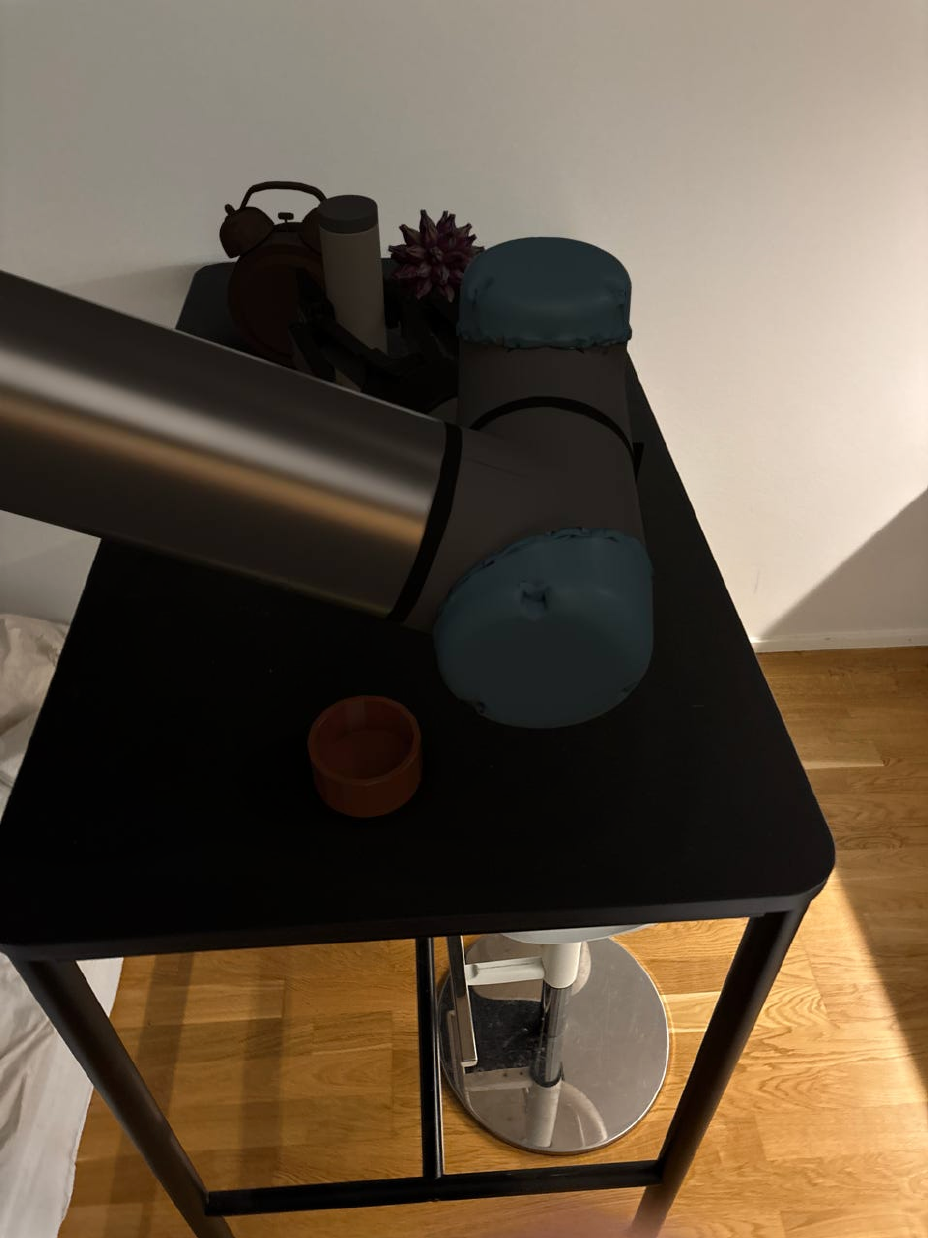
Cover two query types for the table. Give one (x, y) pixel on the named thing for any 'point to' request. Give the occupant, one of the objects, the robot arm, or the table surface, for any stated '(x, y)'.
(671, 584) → the table surface
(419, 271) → the flower
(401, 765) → the bowl
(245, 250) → the alarm clock
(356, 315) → the grey-capped cream cylinder
